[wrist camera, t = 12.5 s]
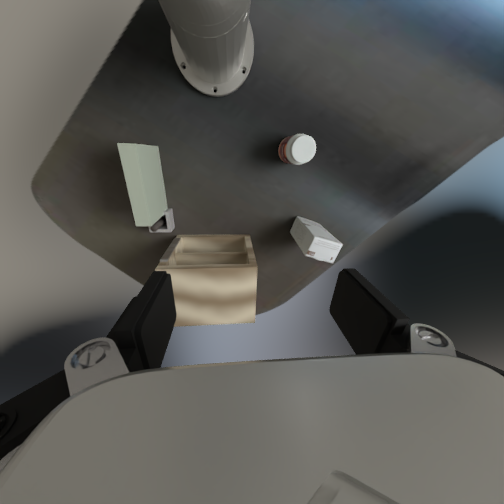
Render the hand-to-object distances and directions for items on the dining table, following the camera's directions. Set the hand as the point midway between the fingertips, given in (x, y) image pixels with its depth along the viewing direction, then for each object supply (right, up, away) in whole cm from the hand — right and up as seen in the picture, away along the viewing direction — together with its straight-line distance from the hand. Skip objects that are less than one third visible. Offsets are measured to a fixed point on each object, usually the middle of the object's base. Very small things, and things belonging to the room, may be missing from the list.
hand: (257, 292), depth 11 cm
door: (-19, +15, +29) cm, 38 cm away
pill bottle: (+7, +22, +28) cm, 37 cm away
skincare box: (+12, +8, +36) cm, 39 cm away
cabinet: (-11, +2, +36) cm, 37 cm away
